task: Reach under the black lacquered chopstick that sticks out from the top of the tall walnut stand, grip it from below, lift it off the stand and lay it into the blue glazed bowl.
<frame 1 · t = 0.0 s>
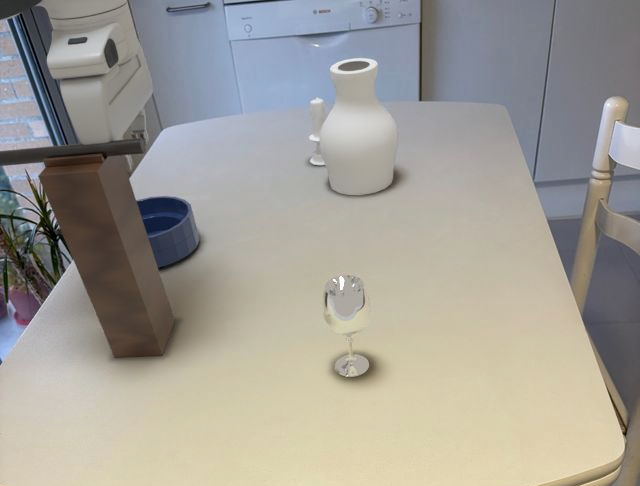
hand: (134, 157, 84), 22 cm above the table, tool pointing down, fingers open, 7 cm apart
chopstick: (62, 160, 75), point 26 cm above the table, touching stand
stand: (145, 339, 93), on the table
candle: (323, 161, 131), on the table
wineglass: (352, 367, 84), on the table
vase: (361, 181, 123), on the table
bowl: (156, 249, 112), on the table
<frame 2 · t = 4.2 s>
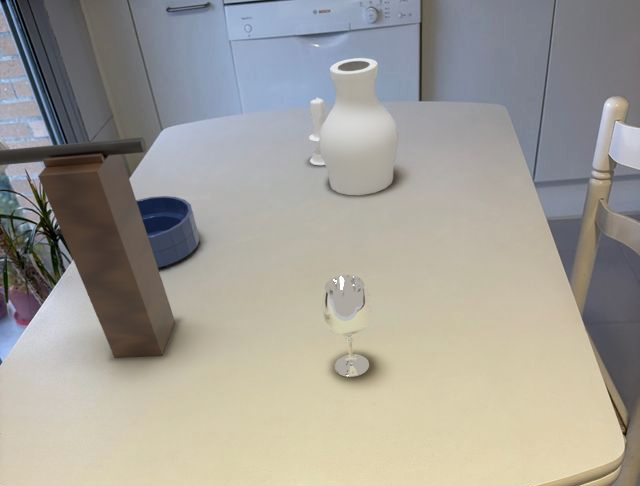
chopstick: (62, 159, 75), point 26 cm above the table, tilted 21°, touching stand
everything else where it was.
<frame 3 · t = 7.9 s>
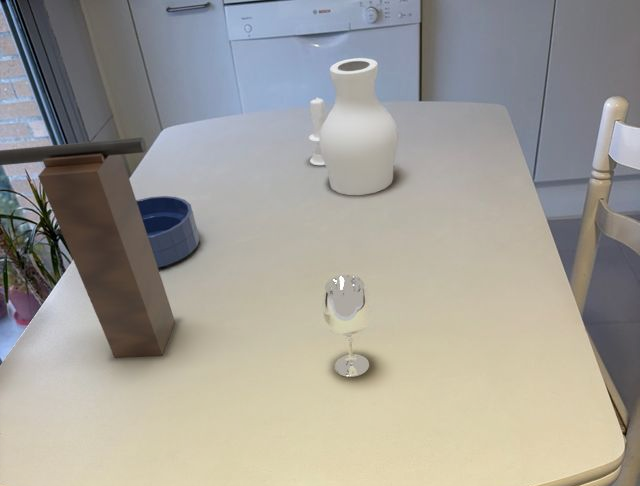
nothing on the table moved.
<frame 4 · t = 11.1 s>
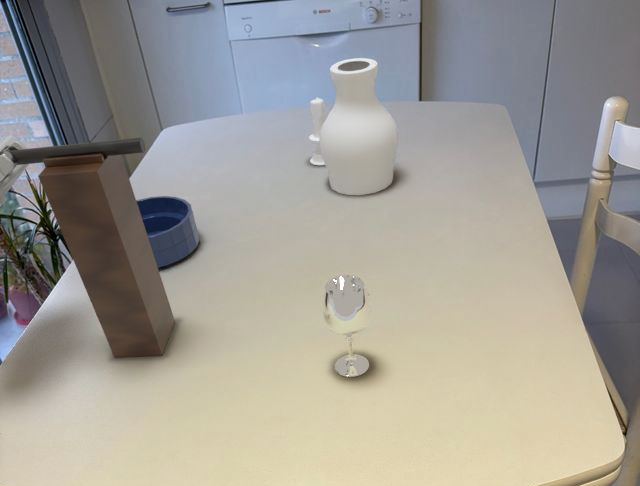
hand: (15, 152, 75), 27 cm above the table, tool pointing upward, fingers closed on chopstick, 2 cm apart
chopstick: (62, 160, 75), point 26 cm above the table, touching gripper, stand
everything else where it was.
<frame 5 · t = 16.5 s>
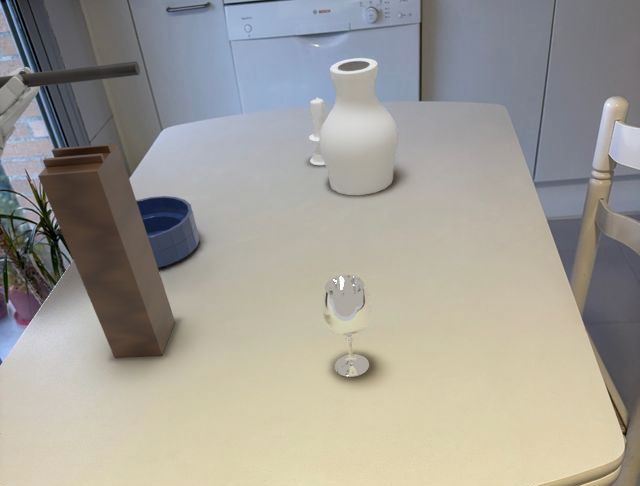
hand: (26, 76, 85), 31 cm above the table, tool pointing upward, fingers closed on chopstick
chopstick: (67, 83, 85), point 29 cm above the table, touching gripper
everything else where it was.
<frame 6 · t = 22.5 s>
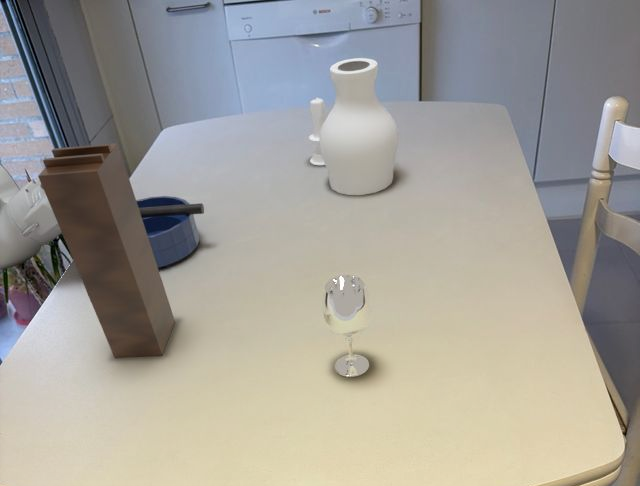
hand: (97, 163, 102), 15 cm above the table, tool pointing upward, fingers open, 5 cm apart
chopstick: (146, 216, 108), point 6 cm above the table, tilted 15°, touching bowl
everything else where it was.
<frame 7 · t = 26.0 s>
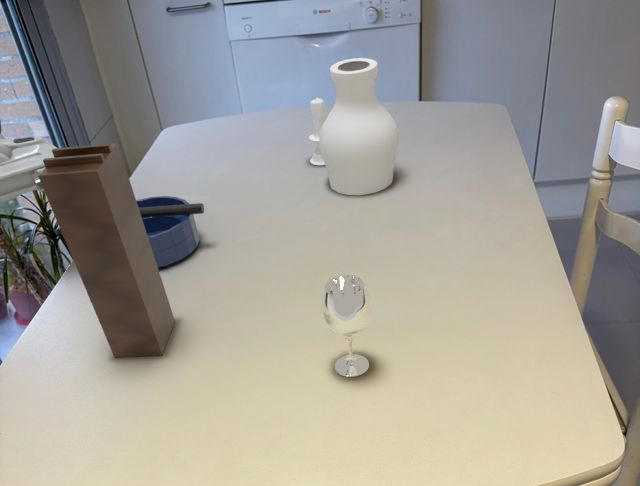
hand: (10, 196, 93), 17 cm above the table, tool horizontal, fingers open, 8 cm apart
chopstick: (146, 216, 108), point 6 cm above the table, tilted 10°, touching bowl
everything else where it was.
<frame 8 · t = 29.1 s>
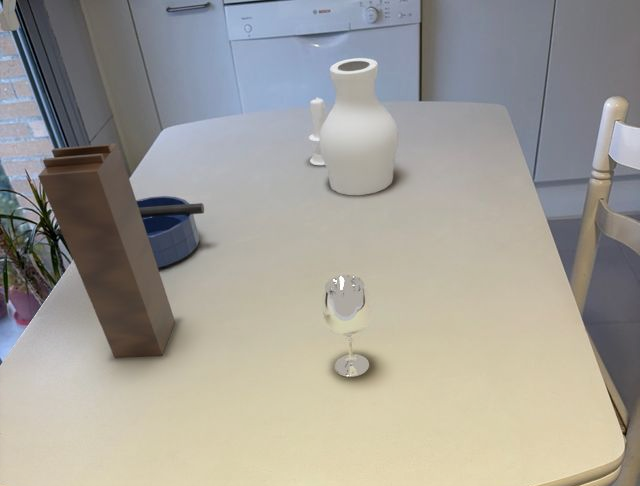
nothing on the table moved.
at the end: chopstick 0.2 cm from the bowl (horizontally); chopstick point 6.0 cm above the table; the gripper is holding nothing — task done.
